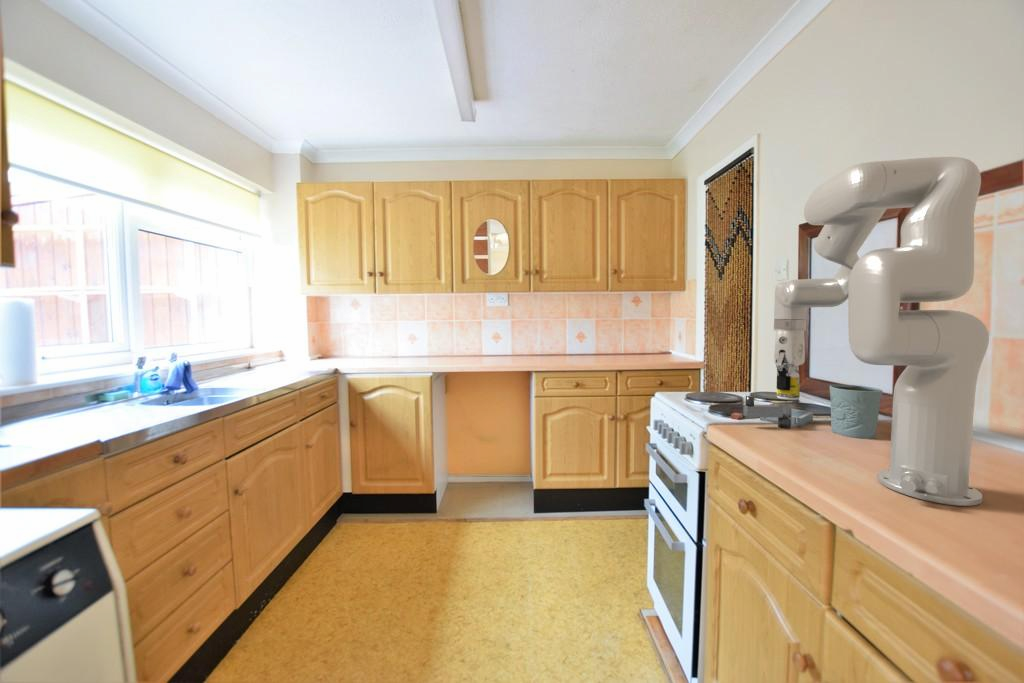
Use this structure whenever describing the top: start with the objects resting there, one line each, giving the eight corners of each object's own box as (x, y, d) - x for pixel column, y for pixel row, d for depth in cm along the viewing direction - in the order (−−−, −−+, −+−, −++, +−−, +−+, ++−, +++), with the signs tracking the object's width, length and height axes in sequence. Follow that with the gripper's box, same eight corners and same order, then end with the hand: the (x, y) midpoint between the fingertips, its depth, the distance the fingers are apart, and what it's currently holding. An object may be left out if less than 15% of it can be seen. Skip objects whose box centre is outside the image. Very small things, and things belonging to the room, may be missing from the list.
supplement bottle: (774, 399, 112) (774, 365, 111) (779, 396, 115) (778, 363, 115) (797, 401, 108) (797, 366, 107) (801, 397, 112) (800, 364, 111)
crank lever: (786, 414, 107) (787, 395, 107) (794, 417, 104) (794, 397, 104) (742, 414, 108) (742, 395, 107) (748, 417, 105) (748, 397, 104)
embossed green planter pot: (829, 435, 98) (831, 388, 98) (825, 425, 107) (827, 382, 106) (884, 442, 93) (886, 392, 92) (875, 431, 101) (877, 386, 100)
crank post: (788, 429, 104) (789, 419, 103) (730, 418, 115) (731, 409, 115) (792, 427, 105) (793, 417, 105) (735, 416, 117) (735, 408, 117)
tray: (801, 427, 105) (801, 418, 105) (760, 419, 113) (760, 411, 113) (812, 420, 111) (813, 412, 111) (773, 414, 119) (773, 406, 119)
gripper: (794, 327, 102) (792, 394, 103) (815, 324, 112) (812, 386, 114) (762, 326, 108) (760, 390, 109) (785, 324, 118) (783, 382, 120)
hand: (787, 387), depth 112 cm, fingers closed on supplement bottle, 5 cm apart
